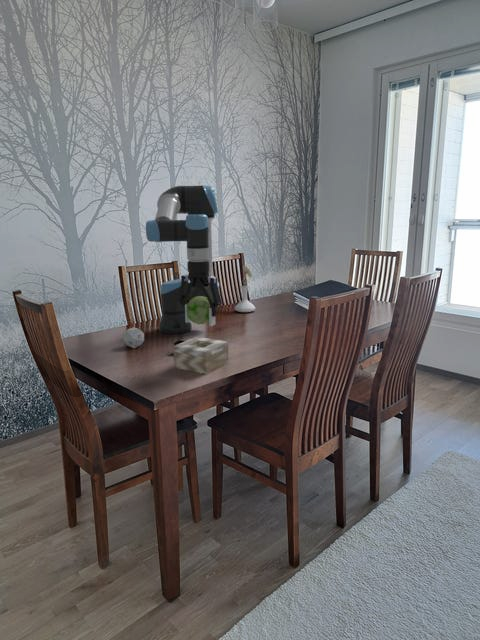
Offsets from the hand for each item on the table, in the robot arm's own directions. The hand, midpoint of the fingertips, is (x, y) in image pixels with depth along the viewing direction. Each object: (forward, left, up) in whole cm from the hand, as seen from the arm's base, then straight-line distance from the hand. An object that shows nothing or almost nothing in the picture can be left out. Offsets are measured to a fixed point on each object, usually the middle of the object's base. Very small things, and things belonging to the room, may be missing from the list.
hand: (200, 323), depth 164 cm
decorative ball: (0, 0, 0) cm, 1 cm away
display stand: (0, 0, -16) cm, 16 cm away
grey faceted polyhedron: (-38, +5, -16) cm, 42 cm away
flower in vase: (-32, +84, -16) cm, 91 cm away
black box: (-17, +8, -16) cm, 25 cm away
